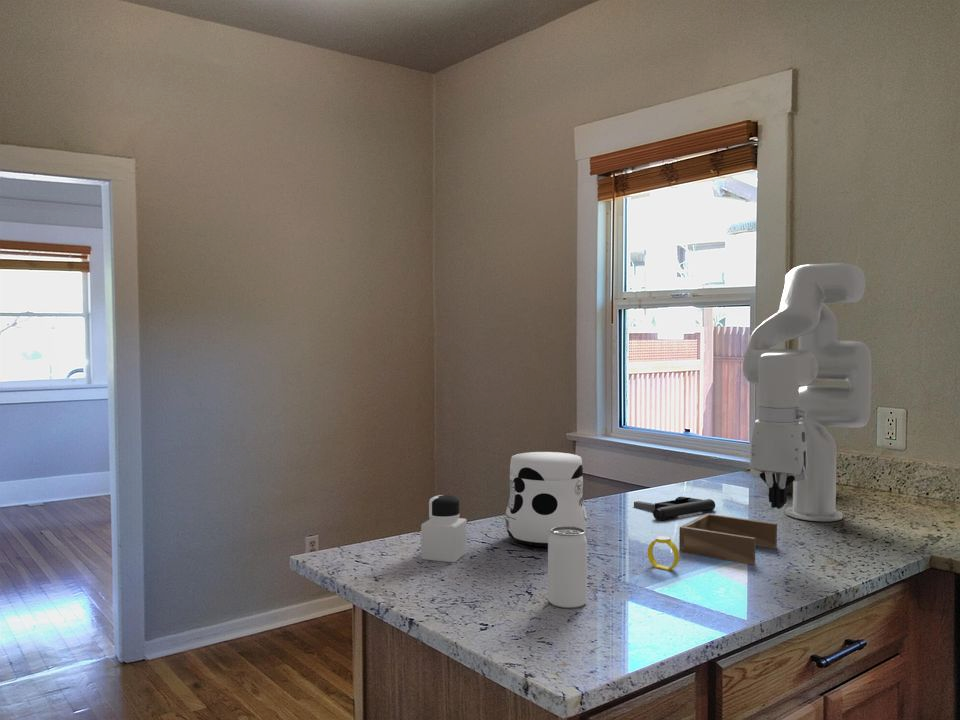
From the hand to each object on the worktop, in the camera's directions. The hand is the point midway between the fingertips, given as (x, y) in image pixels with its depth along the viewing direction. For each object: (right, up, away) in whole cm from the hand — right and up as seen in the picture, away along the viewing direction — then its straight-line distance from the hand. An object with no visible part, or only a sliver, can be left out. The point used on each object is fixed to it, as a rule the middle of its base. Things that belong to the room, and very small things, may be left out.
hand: (777, 506), depth 156 cm
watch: (-24, -11, -7) cm, 28 cm away
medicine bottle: (-66, -10, 0) cm, 67 cm away
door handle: (-12, -9, +40) cm, 43 cm away
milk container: (-45, -10, +12) cm, 48 cm away
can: (-45, -11, -26) cm, 53 cm away
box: (-8, -10, +5) cm, 13 cm away
